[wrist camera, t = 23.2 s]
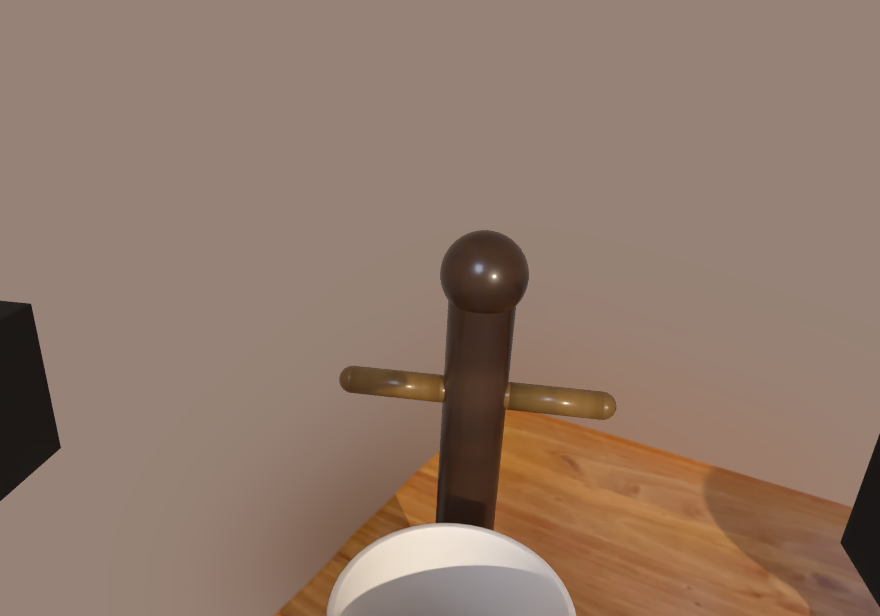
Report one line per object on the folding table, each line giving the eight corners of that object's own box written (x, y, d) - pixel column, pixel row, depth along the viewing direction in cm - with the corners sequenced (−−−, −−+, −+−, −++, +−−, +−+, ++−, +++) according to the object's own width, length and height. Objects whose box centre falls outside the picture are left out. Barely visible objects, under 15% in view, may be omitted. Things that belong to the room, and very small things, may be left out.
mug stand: (585, 997, 24) (735, 414, 14) (256, 934, 25) (194, 357, 15) (565, 654, 37) (637, 232, 27) (351, 623, 38) (349, 208, 29)
